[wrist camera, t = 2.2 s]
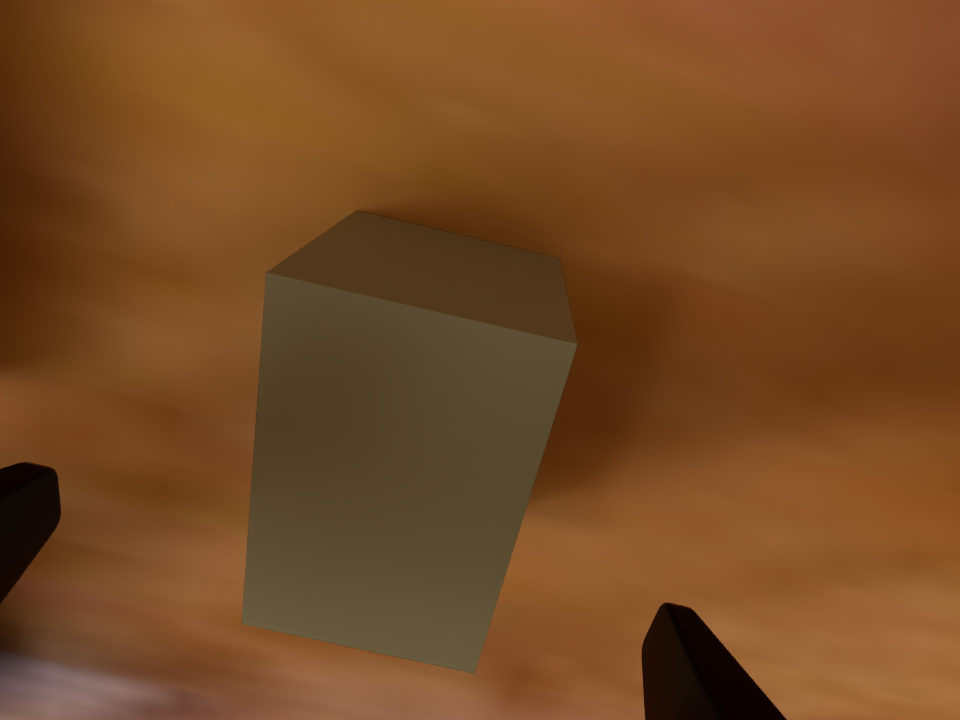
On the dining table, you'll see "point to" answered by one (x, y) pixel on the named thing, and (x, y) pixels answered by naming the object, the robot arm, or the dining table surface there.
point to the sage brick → (399, 434)
